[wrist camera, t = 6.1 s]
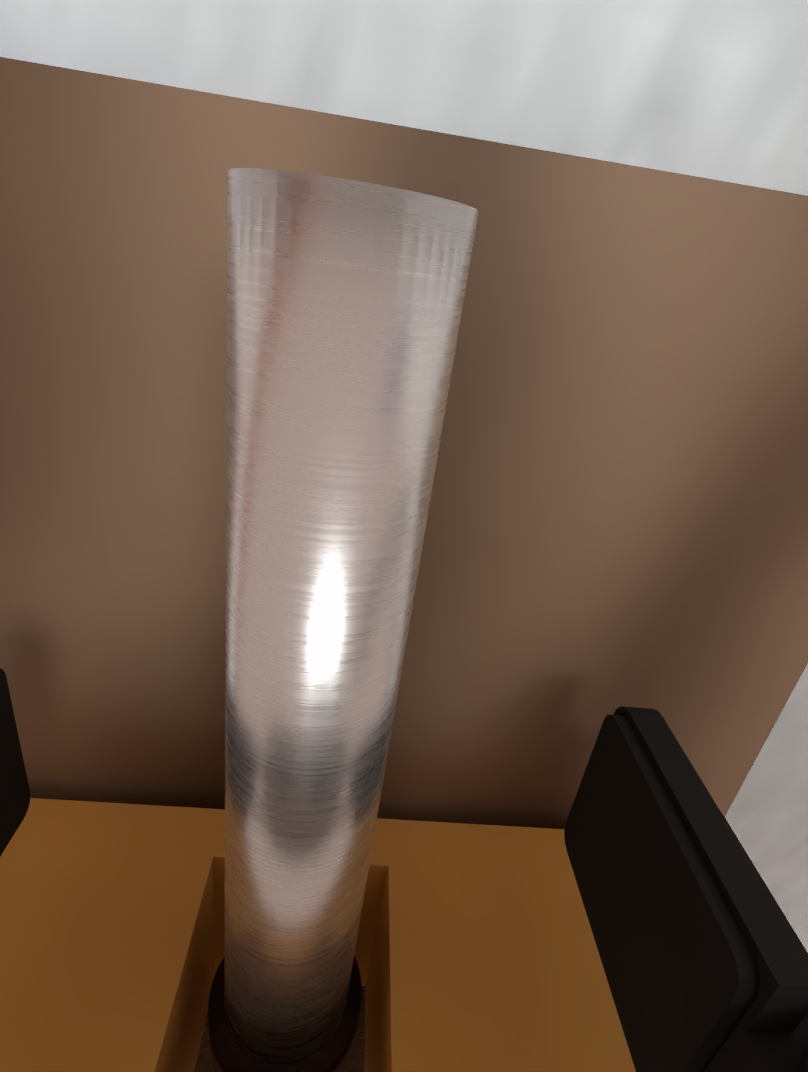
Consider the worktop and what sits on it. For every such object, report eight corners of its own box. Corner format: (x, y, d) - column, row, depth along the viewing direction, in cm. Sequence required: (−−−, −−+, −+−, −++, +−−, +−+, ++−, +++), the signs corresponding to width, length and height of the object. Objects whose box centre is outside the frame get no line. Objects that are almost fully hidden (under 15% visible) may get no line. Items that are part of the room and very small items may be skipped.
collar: (619, 832, 12) (768, 1192, 8) (570, 945, 14) (667, 1295, 9) (-39, 794, 11) (-348, 1194, 6) (-3, 922, 13) (-225, 1312, 8)
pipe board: (970, 237, 9) (1041, 235, 8) (599, 985, 17) (611, 1028, 16) (-367, 10, 7) (-481, -28, 6) (-44, 964, 16) (-71, 1010, 15)
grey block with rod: (626, 256, 8) (970, 261, 3) (418, 1020, 16) (434, 1323, 11) (77, 170, 7) (-446, 26, 3) (154, 1013, 15) (61, 1332, 11)
